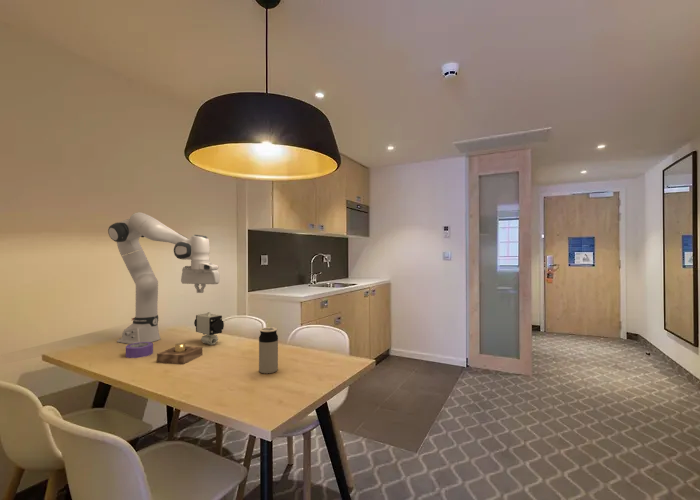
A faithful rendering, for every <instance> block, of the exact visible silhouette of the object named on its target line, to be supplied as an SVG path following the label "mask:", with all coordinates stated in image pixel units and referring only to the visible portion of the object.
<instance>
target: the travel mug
mask: <svg viewBox="0 0 700 500" xmlns="http://www.w3.org/2000/svg"><path fill="white" fill-rule="evenodd" d="M277 331H278V328H277V327H272V326H271V327H269V326H268V327H262V328H260V329H259V332H260V335H259V337H258V372H259V373H262V374H265V373H266V374H267V375H268V373H269V374H272V373H273V374H274V373H276V372H278V370H279V335H278V333H277Z"/></svg>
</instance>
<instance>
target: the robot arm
mask: <svg viewBox="0 0 700 500" xmlns="http://www.w3.org/2000/svg"><path fill="white" fill-rule="evenodd" d="M107 232H108V236H109V238H110V239H111V240H112V241H114V242H115V243H116V244H117V249H118V252H119V255H120V256H121V258H122V260H123V262H124V265H125V266H126V268H127V270H128V271H127V272H129V274H130V276H131V278H132V281H133V282H134V284H135V316H134V317H131V321H132V323H131V324H130V325H129V326H127V327H126V328H125V329H124V330H122V331H123V332H122V334H121V338H118V339H117V340H116V343H122V344H127V345H129V344H133V343H138V342H152V343H154V342H157V341H159V340H161V336H160V330H159V325H158V323H159V314H158V302H159V301H158V299H159V298H158V296H159V295H158V294H159V280H158V279H157V277H156V275H155V273H154V271H153V268H152V267H151V266H152V265H150V262H149V259H148V257H147V256H146V254H145V251H144V249H143V247H142V245H141V243H140V238H146V239H147V240H150V241H153V242H163V243H170V244H173V245H174V247H173V254H174V256H175V257H176V258H177V259H179V260H186V261H187V260H189V261H190V265H185V266H183V267H182V268H181V269H182V270H181V271H182V273H181V278H180V282H181V284H187V285H189V284H191V285H194V286H193V287H195V290H196V294H203V293H204V292H205V291H204V289H206V286H207V285H218V284H219V283H220V279H221V278H220V271H219V265H217V264H214V263H212V262H210V261H211V260H210V254H211V253H210V252H211V248H210V246H211V245H210V244H211V243H210V239H209V237H208V236H206V235H203V234H202V235H201V234H193V235H191V237H187V236H185V235H183V234H181V233H179V232H177V231H176V230H174V229H172V228H171V227H169V226H167V225H165V224H164V223H163V222H161V221H160V220H158V219H157V218H155V217H153V216H152V215H149V214H147V213H144V212H141V211H139V212H135V213H134V212H133V214H131V216H130V217H129V218H128V219H125V220H122V221H119V222H115V223H112V224H111V225H109V227H108V230H107ZM200 286H201V287H200Z"/></svg>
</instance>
